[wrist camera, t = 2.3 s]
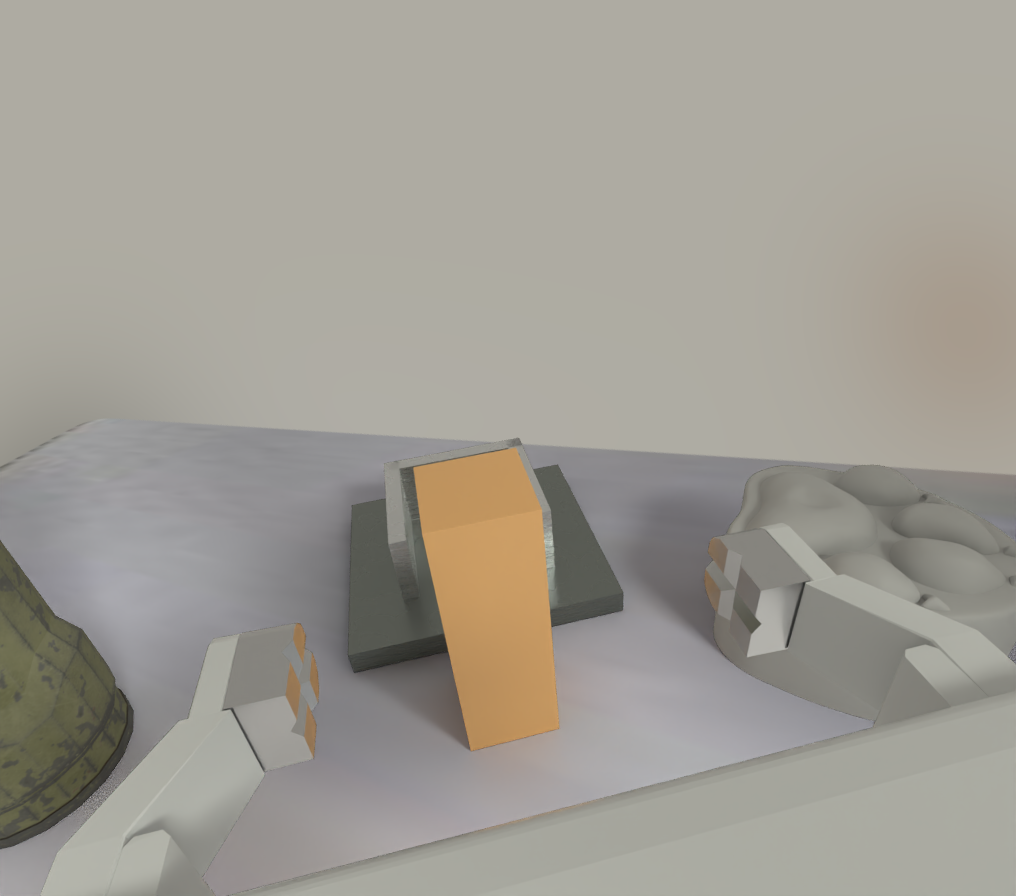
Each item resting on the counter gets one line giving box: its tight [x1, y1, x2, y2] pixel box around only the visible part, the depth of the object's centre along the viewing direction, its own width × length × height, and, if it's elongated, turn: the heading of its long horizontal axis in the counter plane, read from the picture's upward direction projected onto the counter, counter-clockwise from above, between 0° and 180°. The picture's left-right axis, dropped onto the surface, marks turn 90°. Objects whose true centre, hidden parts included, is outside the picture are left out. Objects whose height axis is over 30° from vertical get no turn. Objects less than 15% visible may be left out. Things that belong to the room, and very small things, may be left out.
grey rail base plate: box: [348, 438, 623, 673], centre depth 39 cm, size 14×16×6 cm
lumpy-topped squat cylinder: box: [713, 465, 1016, 721], centre depth 30 cm, size 10×13×9 cm
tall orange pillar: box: [413, 448, 559, 751], centre depth 27 cm, size 4×4×14 cm
